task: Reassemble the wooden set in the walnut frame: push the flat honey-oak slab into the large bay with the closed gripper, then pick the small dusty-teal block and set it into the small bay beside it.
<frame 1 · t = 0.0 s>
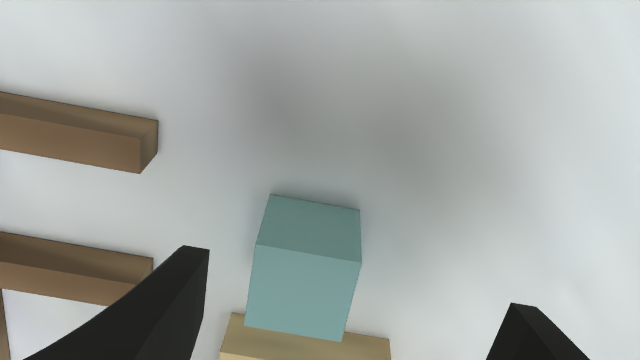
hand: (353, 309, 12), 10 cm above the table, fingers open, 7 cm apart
walnut frame: (111, 351, 27), on the table
teal block: (307, 239, 23), on the table
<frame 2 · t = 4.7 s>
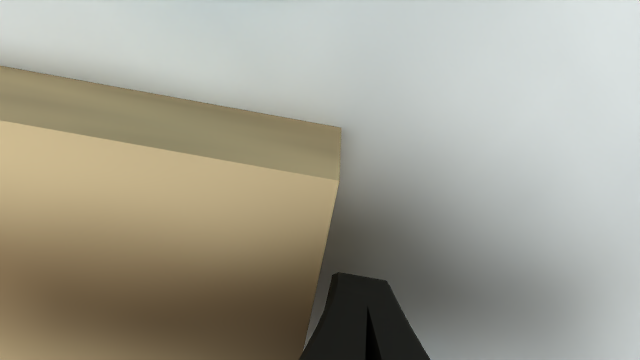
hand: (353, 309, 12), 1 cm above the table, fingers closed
oak slab: (161, 237, 13), on the table
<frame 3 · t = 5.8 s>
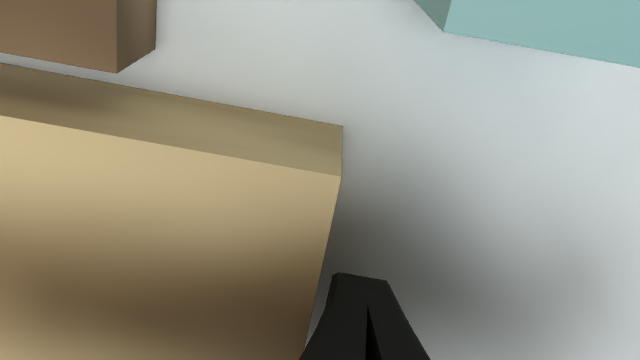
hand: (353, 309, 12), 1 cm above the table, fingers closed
oak slab: (163, 234, 13), on the table, touching gripper
walnut frame: (71, 230, 13), on the table
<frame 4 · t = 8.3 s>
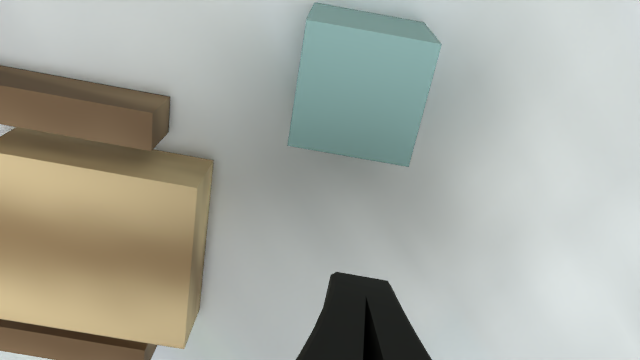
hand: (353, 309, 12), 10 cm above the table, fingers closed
oak slab: (120, 220, 23), on the table
walnut frame: (118, 227, 23), on the table
teal block: (358, 66, 19), on the table
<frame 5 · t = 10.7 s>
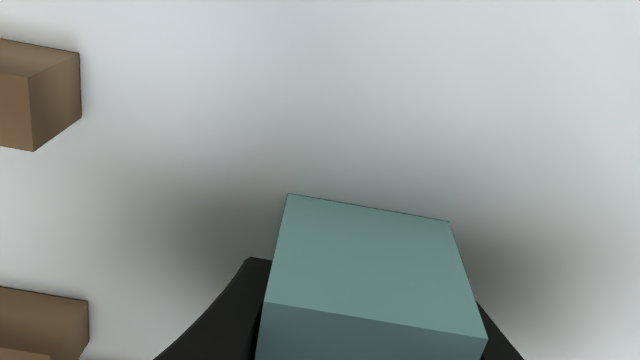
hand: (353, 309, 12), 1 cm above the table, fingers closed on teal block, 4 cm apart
teal block: (352, 272, 13), on the table, touching gripper
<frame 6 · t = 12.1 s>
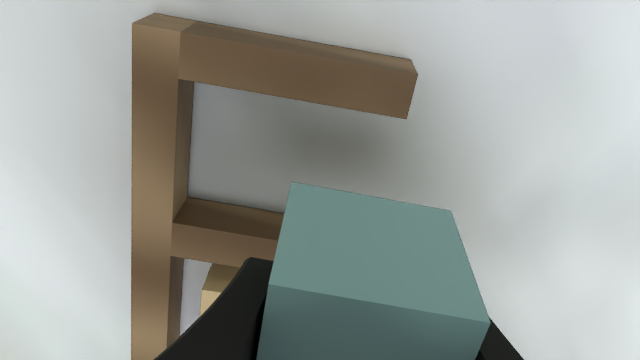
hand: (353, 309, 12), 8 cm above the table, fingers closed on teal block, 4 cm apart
oak slab: (296, 330, 24), on the table
walnut frame: (297, 338, 24), on the table
teal block: (355, 261, 14), point 7 cm above the table, touching gripper
when the fingers open (3 cm above the table, at t = 13.7 s): teal block drops 2 cm, resting in walnut frame.
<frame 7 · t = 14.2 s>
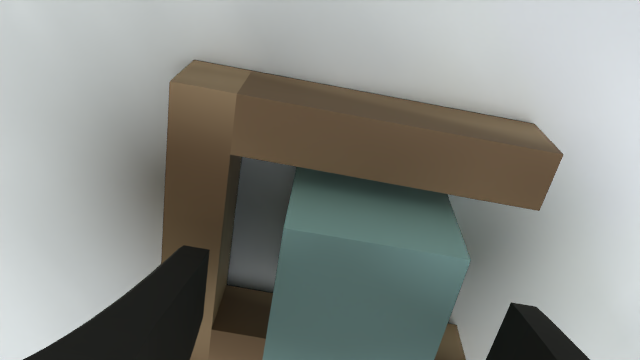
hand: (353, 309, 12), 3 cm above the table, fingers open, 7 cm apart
teal block: (356, 224, 15), resting in walnut frame
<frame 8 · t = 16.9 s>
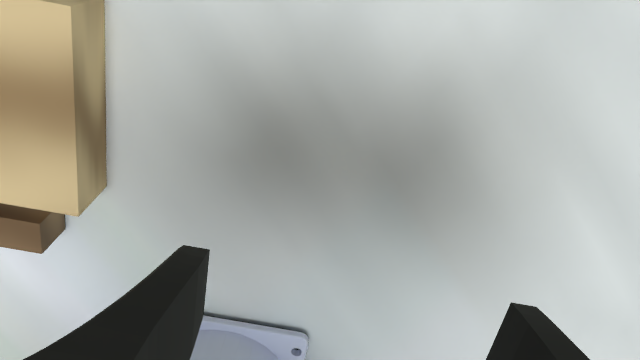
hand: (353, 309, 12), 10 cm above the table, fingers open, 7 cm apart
oak slab: (11, 78, 21), on the table
walnut frame: (7, 84, 21), on the table
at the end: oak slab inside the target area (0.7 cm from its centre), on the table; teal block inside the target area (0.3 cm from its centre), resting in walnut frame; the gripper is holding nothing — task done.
